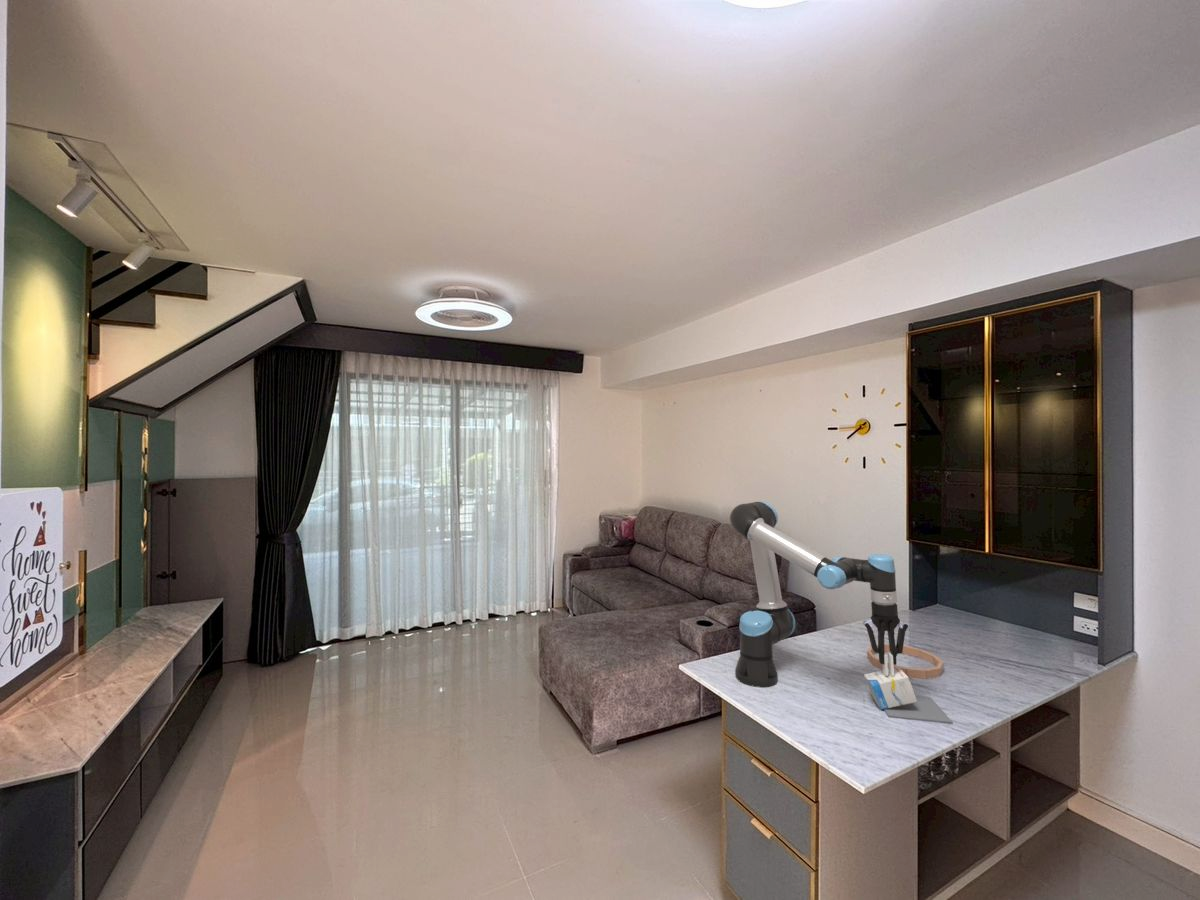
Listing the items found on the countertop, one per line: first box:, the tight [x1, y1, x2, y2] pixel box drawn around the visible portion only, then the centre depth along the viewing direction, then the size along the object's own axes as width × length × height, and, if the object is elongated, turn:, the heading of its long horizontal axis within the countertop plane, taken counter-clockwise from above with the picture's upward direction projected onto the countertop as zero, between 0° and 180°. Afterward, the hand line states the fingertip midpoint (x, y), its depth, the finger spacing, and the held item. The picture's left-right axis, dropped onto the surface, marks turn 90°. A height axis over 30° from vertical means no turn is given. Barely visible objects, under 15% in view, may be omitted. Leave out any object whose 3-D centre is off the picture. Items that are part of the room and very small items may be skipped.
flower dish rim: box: [866, 643, 944, 680], centre depth 196 cm, size 25×25×3 cm
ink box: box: [863, 667, 917, 711], centre depth 164 cm, size 9×8×12 cm
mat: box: [882, 695, 954, 725], centre depth 163 cm, size 18×16×1 cm
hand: (888, 673), depth 164 cm, fingers closed
